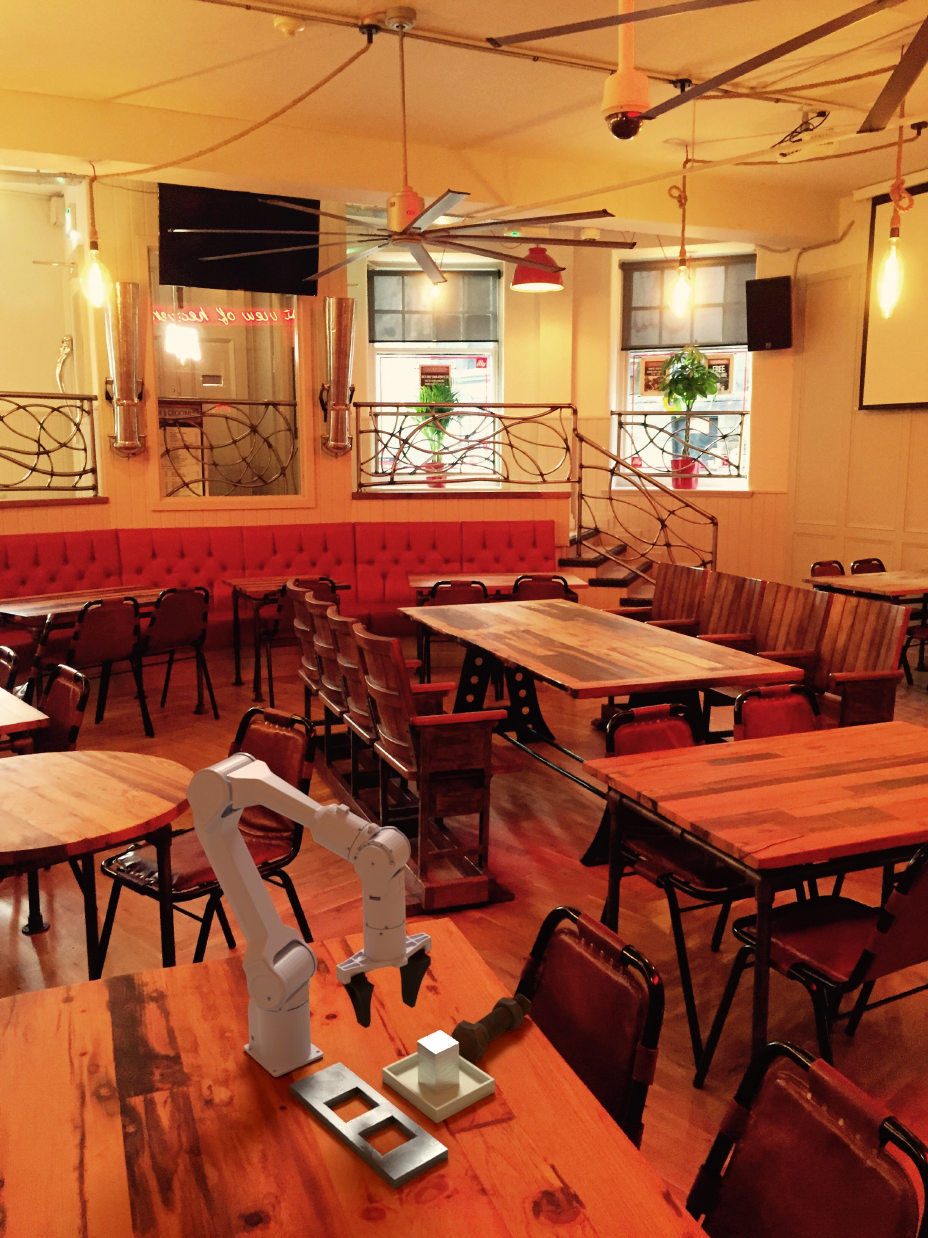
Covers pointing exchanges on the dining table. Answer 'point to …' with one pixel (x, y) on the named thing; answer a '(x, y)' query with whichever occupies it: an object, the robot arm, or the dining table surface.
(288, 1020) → the robot arm
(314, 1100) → the metal plate with holes
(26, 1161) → the dining table surface
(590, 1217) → the dining table surface
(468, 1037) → the bolt
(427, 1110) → the tray
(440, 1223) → the dining table surface
